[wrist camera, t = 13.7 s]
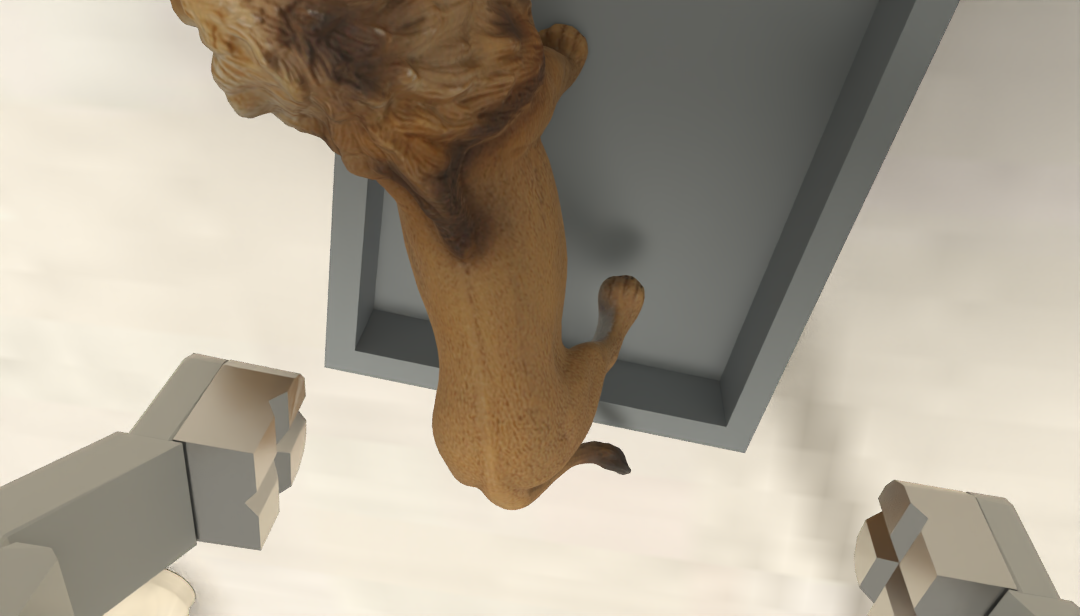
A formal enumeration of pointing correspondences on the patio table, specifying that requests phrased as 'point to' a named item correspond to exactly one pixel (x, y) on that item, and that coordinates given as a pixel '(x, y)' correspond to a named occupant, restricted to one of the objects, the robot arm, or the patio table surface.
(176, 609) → the cup with straw
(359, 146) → the lion figurine
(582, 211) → the grey storage bin
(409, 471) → the patio table surface
